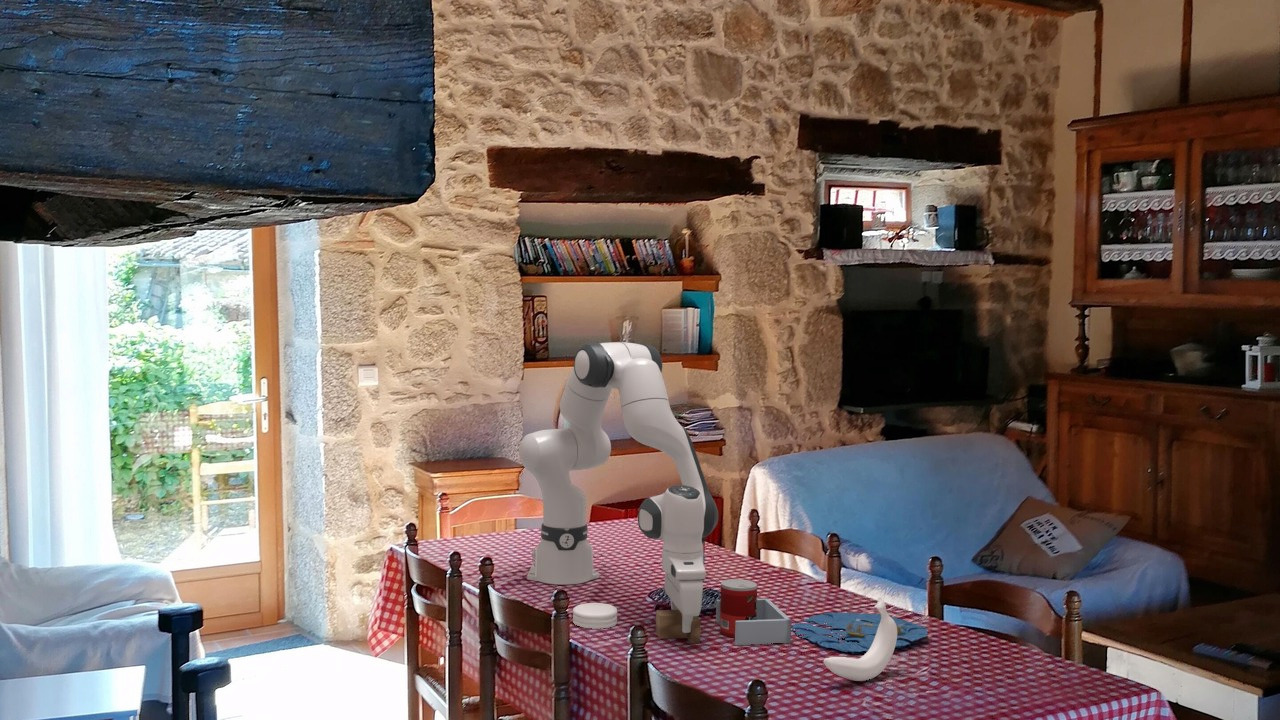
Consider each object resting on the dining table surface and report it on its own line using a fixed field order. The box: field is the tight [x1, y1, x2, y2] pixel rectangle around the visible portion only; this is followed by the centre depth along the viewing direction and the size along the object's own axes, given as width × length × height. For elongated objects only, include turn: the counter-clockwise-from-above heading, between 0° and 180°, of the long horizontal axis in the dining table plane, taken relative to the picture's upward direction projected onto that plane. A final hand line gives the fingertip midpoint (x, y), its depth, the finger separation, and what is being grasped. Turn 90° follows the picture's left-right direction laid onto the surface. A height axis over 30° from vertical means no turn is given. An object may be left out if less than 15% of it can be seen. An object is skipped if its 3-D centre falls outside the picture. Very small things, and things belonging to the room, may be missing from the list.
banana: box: [823, 596, 897, 682], centre depth 207 cm, size 5×19×15 cm, turn 132°
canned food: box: [719, 578, 758, 639], centre depth 235 cm, size 8×8×11 cm
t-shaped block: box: [655, 609, 702, 644], centre depth 233 cm, size 8×12×5 cm, turn 10°
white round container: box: [572, 602, 618, 630], centre depth 240 cm, size 10×10×4 cm
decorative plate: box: [791, 611, 929, 655], centre depth 236 cm, size 30×30×5 cm
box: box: [715, 598, 792, 646], centre depth 236 cm, size 17×12×5 cm
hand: (681, 625), depth 233 cm, fingers open, 8 cm apart
